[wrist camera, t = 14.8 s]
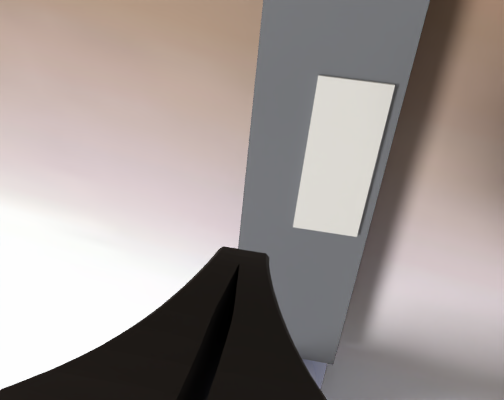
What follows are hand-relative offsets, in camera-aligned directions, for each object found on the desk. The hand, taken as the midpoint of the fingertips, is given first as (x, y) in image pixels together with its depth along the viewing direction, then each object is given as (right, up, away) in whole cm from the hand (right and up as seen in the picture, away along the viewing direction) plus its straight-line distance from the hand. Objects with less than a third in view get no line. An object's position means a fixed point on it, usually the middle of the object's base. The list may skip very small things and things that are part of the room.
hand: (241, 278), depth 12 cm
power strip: (+3, +5, +8) cm, 10 cm away
